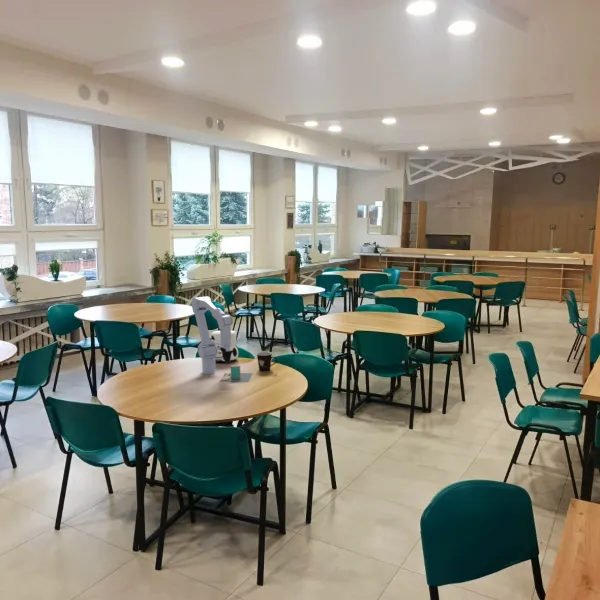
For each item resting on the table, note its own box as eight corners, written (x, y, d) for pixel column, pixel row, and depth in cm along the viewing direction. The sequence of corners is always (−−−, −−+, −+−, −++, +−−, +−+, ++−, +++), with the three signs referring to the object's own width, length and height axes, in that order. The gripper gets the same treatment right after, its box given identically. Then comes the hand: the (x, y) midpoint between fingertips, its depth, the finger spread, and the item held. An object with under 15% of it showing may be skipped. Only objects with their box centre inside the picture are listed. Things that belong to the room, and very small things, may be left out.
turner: (225, 373, 312) (225, 372, 311) (232, 373, 311) (232, 372, 311) (220, 380, 298) (220, 379, 298) (228, 380, 298) (228, 379, 297)
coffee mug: (254, 370, 319) (253, 353, 318) (266, 367, 325) (265, 351, 323) (266, 374, 310) (266, 357, 309) (278, 371, 316) (277, 354, 315)
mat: (225, 373, 313) (225, 373, 313) (252, 373, 312) (252, 373, 312) (219, 382, 295) (219, 382, 295) (248, 382, 294) (248, 382, 294)
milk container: (212, 365, 333) (211, 336, 331) (209, 358, 350) (208, 330, 347) (240, 362, 338) (239, 334, 335) (236, 356, 354) (235, 329, 352)
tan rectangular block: (231, 378, 302) (231, 365, 301) (240, 378, 302) (240, 365, 301) (231, 379, 300) (230, 366, 300) (240, 379, 300) (239, 366, 299)
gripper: (216, 335, 305) (217, 358, 307) (220, 340, 291) (221, 365, 293) (229, 334, 307) (230, 357, 309) (233, 339, 293) (234, 364, 295)
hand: (226, 361), depth 301 cm, fingers open, 7 cm apart
